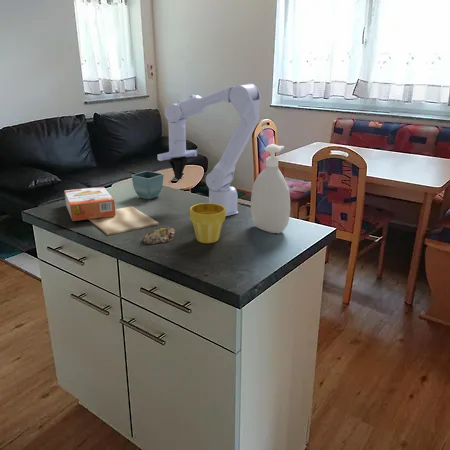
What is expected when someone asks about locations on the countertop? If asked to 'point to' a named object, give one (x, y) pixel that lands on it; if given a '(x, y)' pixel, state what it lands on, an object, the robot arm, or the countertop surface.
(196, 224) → the plant pot
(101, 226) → the board
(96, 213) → the cracker box
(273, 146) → the soap bottle
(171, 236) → the mineral rock
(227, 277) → the countertop surface
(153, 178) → the flower pot
